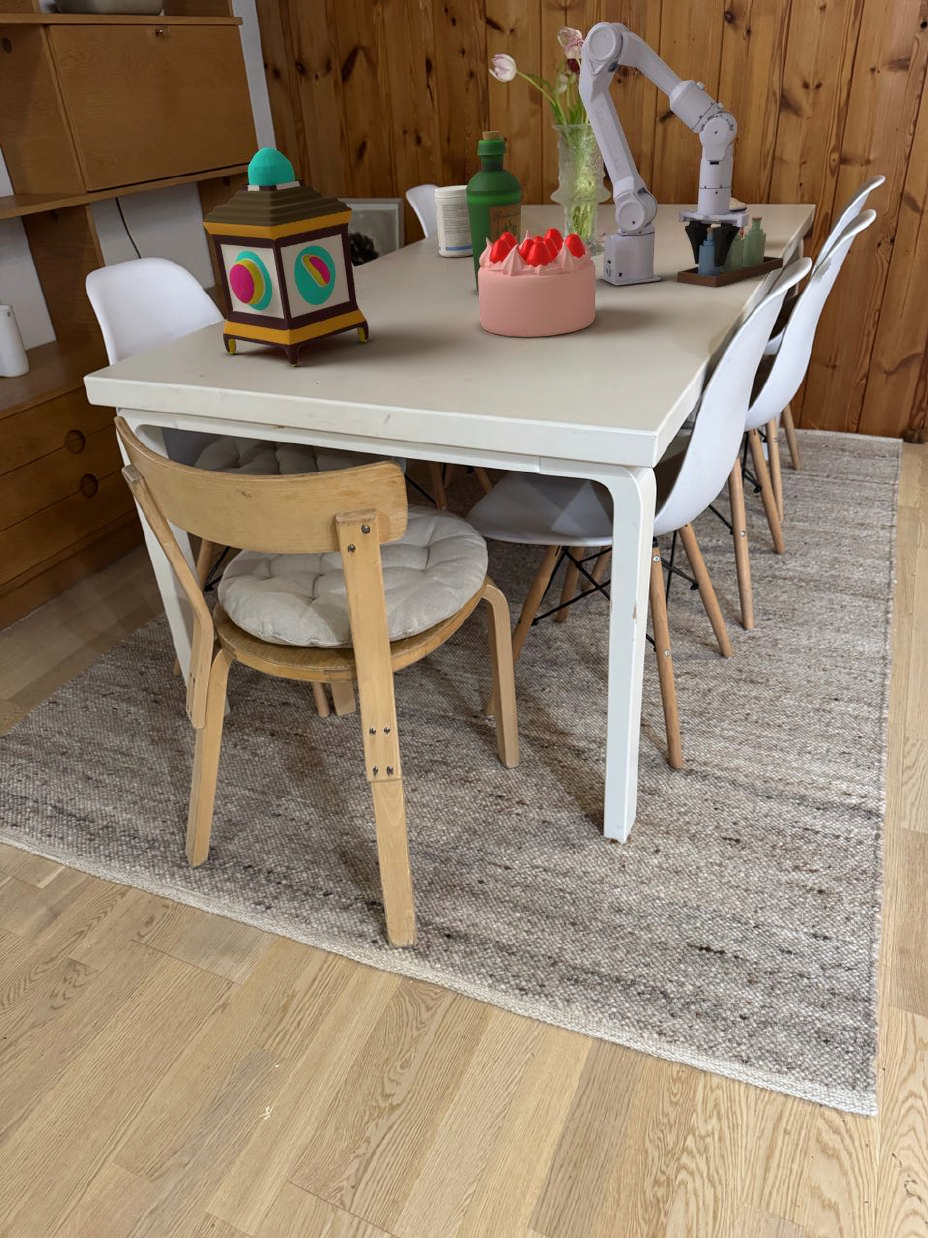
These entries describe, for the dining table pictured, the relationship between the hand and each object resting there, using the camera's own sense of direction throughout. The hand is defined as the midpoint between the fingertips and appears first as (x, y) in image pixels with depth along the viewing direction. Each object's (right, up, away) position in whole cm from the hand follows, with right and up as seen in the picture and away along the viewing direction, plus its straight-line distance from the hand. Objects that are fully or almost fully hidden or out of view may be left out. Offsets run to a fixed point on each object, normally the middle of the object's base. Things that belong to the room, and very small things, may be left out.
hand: (709, 264), depth 174 cm
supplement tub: (-49, +20, +44) cm, 69 cm away
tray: (+6, 0, +5) cm, 8 cm away
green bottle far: (+11, +3, +8) cm, 14 cm away
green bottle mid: (+5, +1, +5) cm, 7 cm away
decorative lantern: (-75, -23, -22) cm, 82 cm away
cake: (-34, -17, -18) cm, 43 cm away
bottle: (-41, -3, +6) cm, 41 cm away
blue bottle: (0, -2, +1) cm, 2 cm away
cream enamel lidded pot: (+11, +15, +29) cm, 34 cm away
